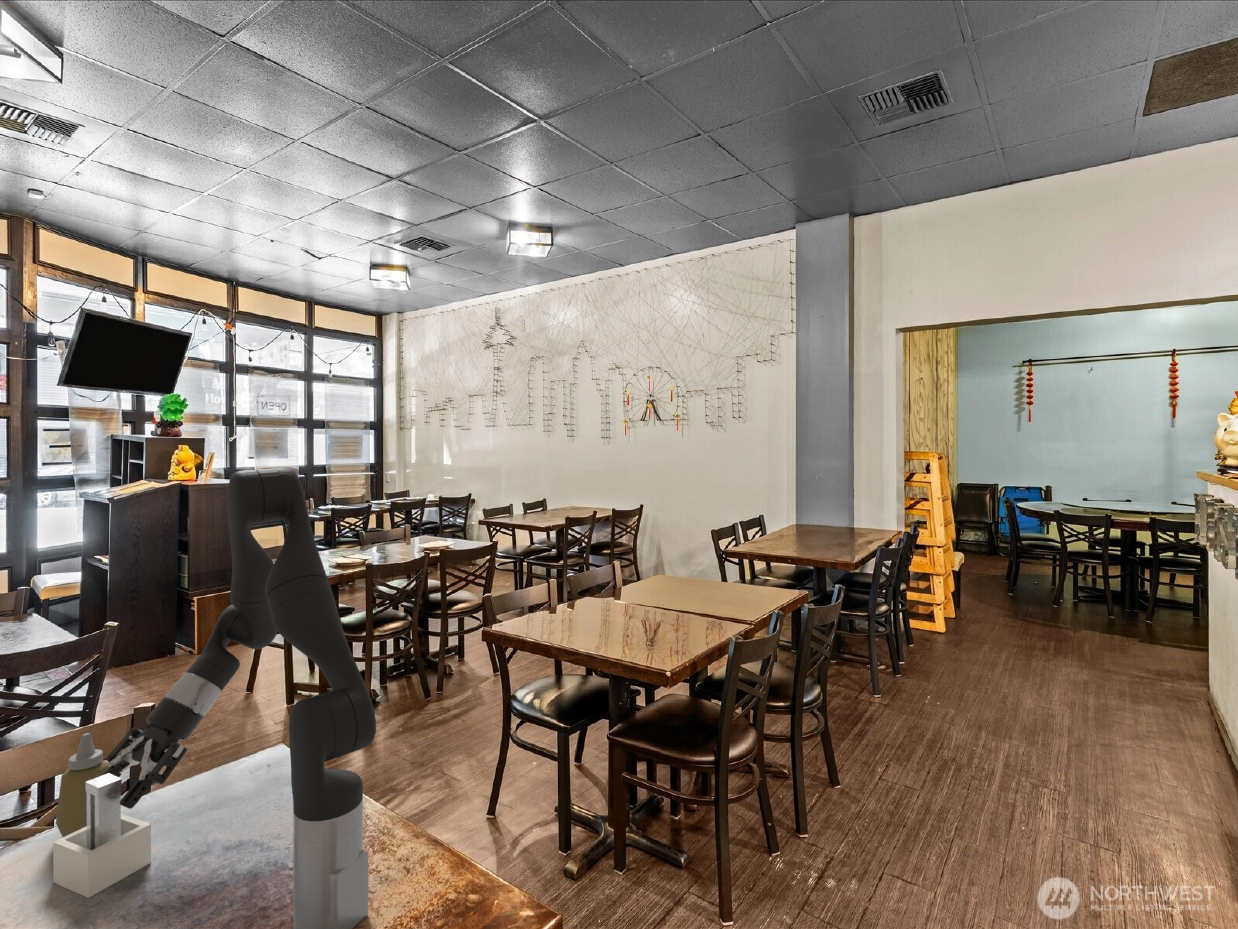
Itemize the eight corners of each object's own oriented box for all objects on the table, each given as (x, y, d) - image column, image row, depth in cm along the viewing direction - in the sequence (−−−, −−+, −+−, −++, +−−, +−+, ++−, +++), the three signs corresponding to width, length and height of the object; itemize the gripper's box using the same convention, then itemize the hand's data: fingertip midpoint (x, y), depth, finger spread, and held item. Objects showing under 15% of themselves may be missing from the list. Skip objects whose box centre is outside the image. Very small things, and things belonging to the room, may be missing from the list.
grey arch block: (121, 864, 102) (121, 779, 102) (98, 875, 100) (98, 788, 99) (109, 856, 104) (108, 773, 104) (85, 868, 101) (85, 782, 101)
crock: (150, 862, 104) (150, 824, 104) (88, 898, 96) (88, 856, 96) (116, 849, 108) (116, 812, 108) (53, 882, 99) (53, 842, 99)
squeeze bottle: (115, 817, 117) (114, 721, 117) (115, 837, 111) (115, 736, 111) (57, 833, 112) (56, 733, 112) (54, 855, 106) (53, 749, 106)
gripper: (146, 689, 113) (68, 781, 103) (193, 703, 107) (115, 803, 97) (178, 707, 118) (106, 797, 108) (224, 722, 112) (153, 819, 102)
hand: (110, 800), depth 102 cm, fingers open, 8 cm apart
